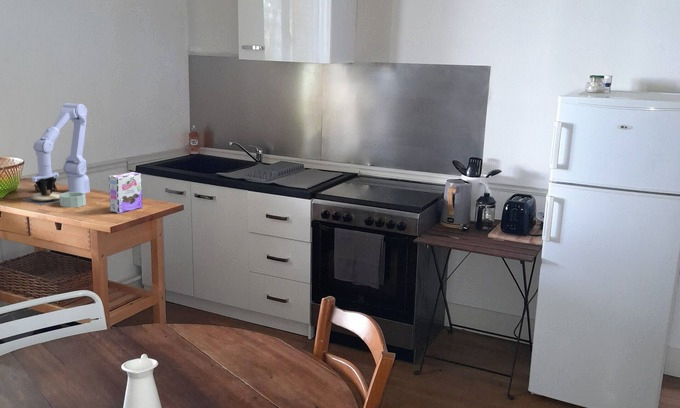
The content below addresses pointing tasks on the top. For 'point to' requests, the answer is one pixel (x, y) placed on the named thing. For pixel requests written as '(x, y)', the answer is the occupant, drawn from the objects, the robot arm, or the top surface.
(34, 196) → the lid
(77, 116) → the robot arm
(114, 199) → the candy box
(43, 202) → the mat
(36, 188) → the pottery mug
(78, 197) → the bowl
